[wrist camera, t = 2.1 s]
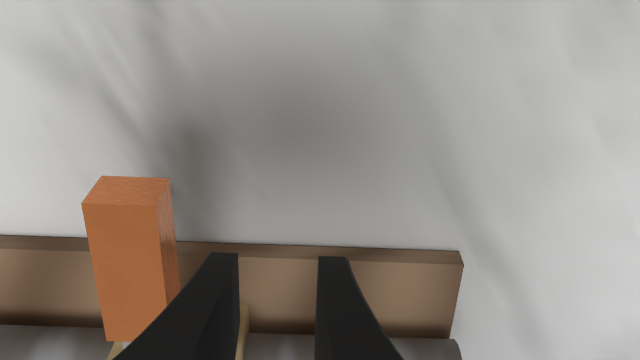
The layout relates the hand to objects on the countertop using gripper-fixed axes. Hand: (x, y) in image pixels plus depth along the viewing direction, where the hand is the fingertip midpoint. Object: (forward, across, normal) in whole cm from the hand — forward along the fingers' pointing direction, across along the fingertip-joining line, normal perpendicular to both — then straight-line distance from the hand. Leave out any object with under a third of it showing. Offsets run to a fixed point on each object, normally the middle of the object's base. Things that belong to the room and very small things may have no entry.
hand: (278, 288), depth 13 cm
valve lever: (+4, +5, +6) cm, 9 cm away
